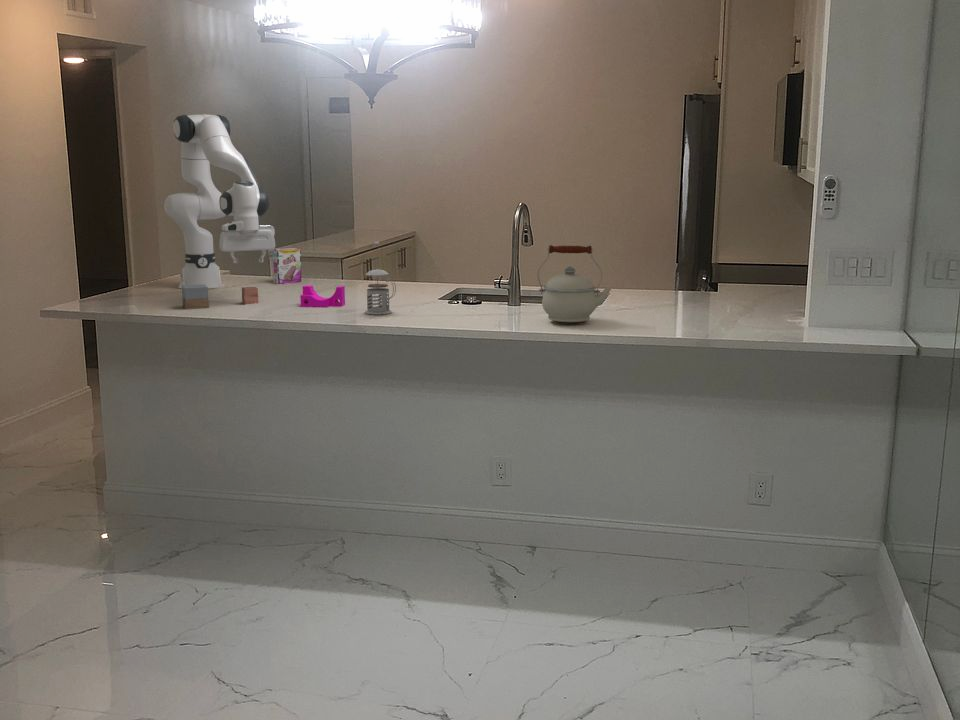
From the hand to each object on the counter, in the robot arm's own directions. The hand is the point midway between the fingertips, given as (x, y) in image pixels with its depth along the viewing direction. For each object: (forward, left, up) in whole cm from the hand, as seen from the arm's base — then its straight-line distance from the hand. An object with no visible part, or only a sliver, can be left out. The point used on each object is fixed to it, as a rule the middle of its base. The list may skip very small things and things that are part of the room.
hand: (248, 262), depth 351 cm
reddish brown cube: (0, 0, -15) cm, 15 cm away
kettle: (+84, +91, -16) cm, 125 cm away
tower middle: (+1, -20, -12) cm, 23 cm away
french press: (+42, +37, -16) cm, 58 cm away
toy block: (+19, +23, -16) cm, 33 cm away
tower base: (+1, -20, -16) cm, 26 cm away
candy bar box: (-42, +25, -16) cm, 51 cm away
